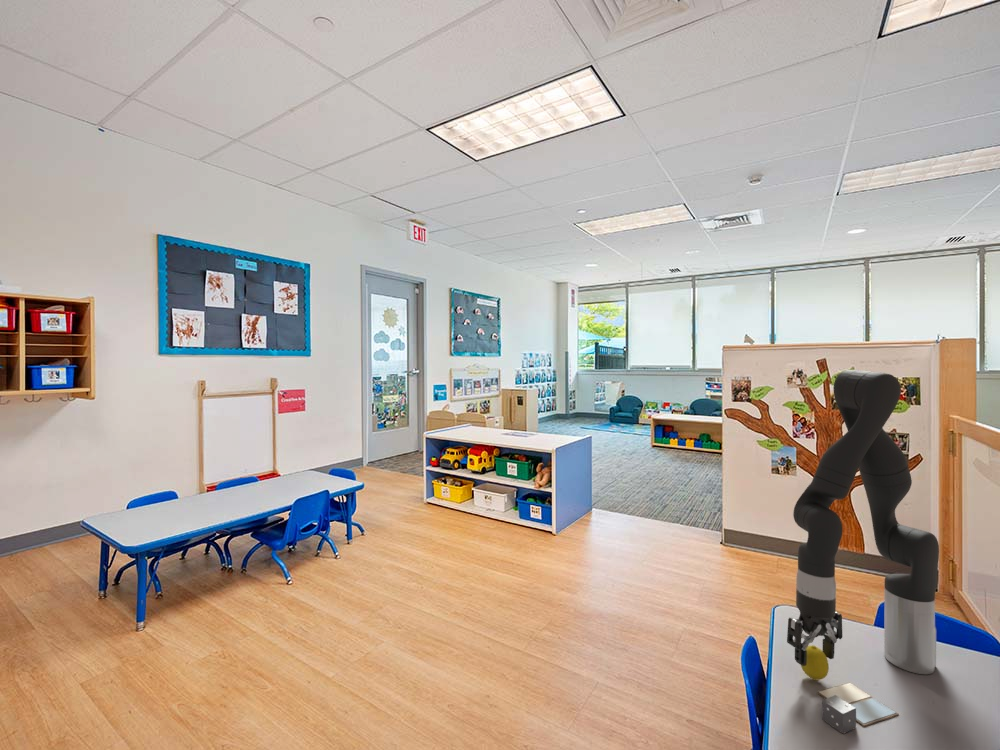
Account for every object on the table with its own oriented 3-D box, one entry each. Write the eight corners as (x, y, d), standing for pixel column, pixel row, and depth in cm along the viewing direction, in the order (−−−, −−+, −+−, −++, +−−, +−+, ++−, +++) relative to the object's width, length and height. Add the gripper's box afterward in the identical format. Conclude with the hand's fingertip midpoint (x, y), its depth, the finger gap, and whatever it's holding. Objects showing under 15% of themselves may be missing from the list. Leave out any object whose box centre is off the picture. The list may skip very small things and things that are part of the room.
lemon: (833, 689, 104) (833, 654, 103) (806, 686, 105) (806, 651, 105) (821, 673, 109) (821, 640, 109) (795, 670, 110) (795, 637, 110)
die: (835, 694, 96) (856, 708, 92) (835, 714, 96) (856, 728, 93) (822, 699, 95) (843, 713, 91) (822, 719, 95) (843, 734, 91)
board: (849, 683, 105) (849, 681, 105) (898, 715, 96) (898, 713, 96) (816, 693, 103) (816, 691, 103) (863, 726, 93) (863, 724, 93)
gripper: (808, 603, 100) (807, 677, 100) (854, 593, 105) (853, 664, 105) (777, 587, 107) (776, 656, 107) (822, 579, 112) (821, 645, 112)
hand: (814, 660), depth 106 cm, fingers open, 8 cm apart
